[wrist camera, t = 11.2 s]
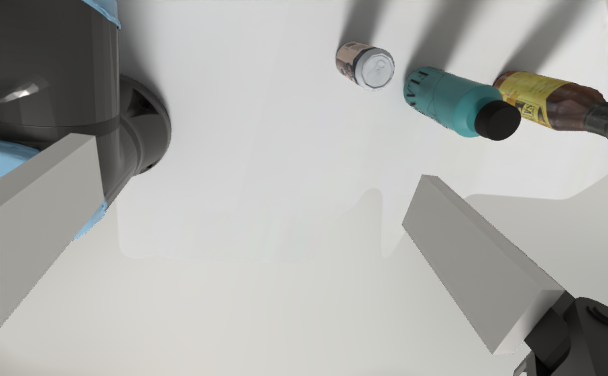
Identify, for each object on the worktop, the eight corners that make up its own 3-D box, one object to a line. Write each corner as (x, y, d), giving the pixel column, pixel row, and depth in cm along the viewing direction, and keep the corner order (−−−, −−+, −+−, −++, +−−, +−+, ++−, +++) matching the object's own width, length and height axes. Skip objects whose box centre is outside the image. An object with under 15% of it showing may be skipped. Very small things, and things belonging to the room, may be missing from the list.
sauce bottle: (481, 96, 51) (593, 136, 34) (509, 62, 49) (644, 86, 32) (505, 114, 54) (621, 161, 37) (532, 82, 51) (670, 116, 34)
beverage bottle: (409, 58, 47) (498, 83, 30) (444, 71, 49) (548, 102, 31) (391, 100, 50) (462, 145, 32) (425, 110, 51) (510, 159, 34)
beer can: (329, 67, 46) (350, 82, 36) (344, 35, 44) (371, 41, 34) (356, 81, 47) (384, 99, 37) (371, 50, 45) (405, 60, 35)
